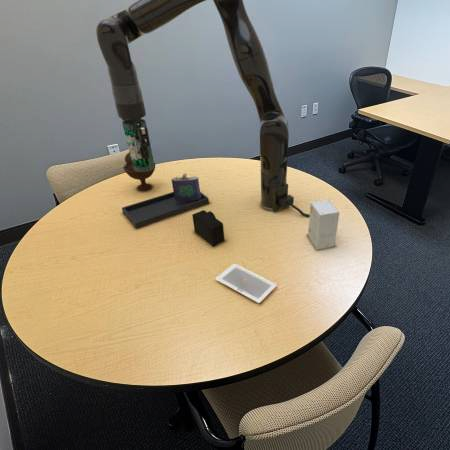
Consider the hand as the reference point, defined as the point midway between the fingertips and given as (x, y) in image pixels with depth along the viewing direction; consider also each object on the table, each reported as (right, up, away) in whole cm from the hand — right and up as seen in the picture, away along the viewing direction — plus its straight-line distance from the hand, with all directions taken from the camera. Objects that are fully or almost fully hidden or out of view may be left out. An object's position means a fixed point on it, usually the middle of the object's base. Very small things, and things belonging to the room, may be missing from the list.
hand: (141, 154), depth 105 cm
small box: (+57, -28, +3) cm, 63 cm away
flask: (+9, -13, +18) cm, 24 cm away
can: (0, -4, +3) cm, 5 cm away
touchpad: (+36, -39, -15) cm, 55 cm away
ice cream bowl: (-10, -8, +25) cm, 28 cm away
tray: (+3, -16, +14) cm, 22 cm away
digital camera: (+22, -26, +2) cm, 34 cm away
